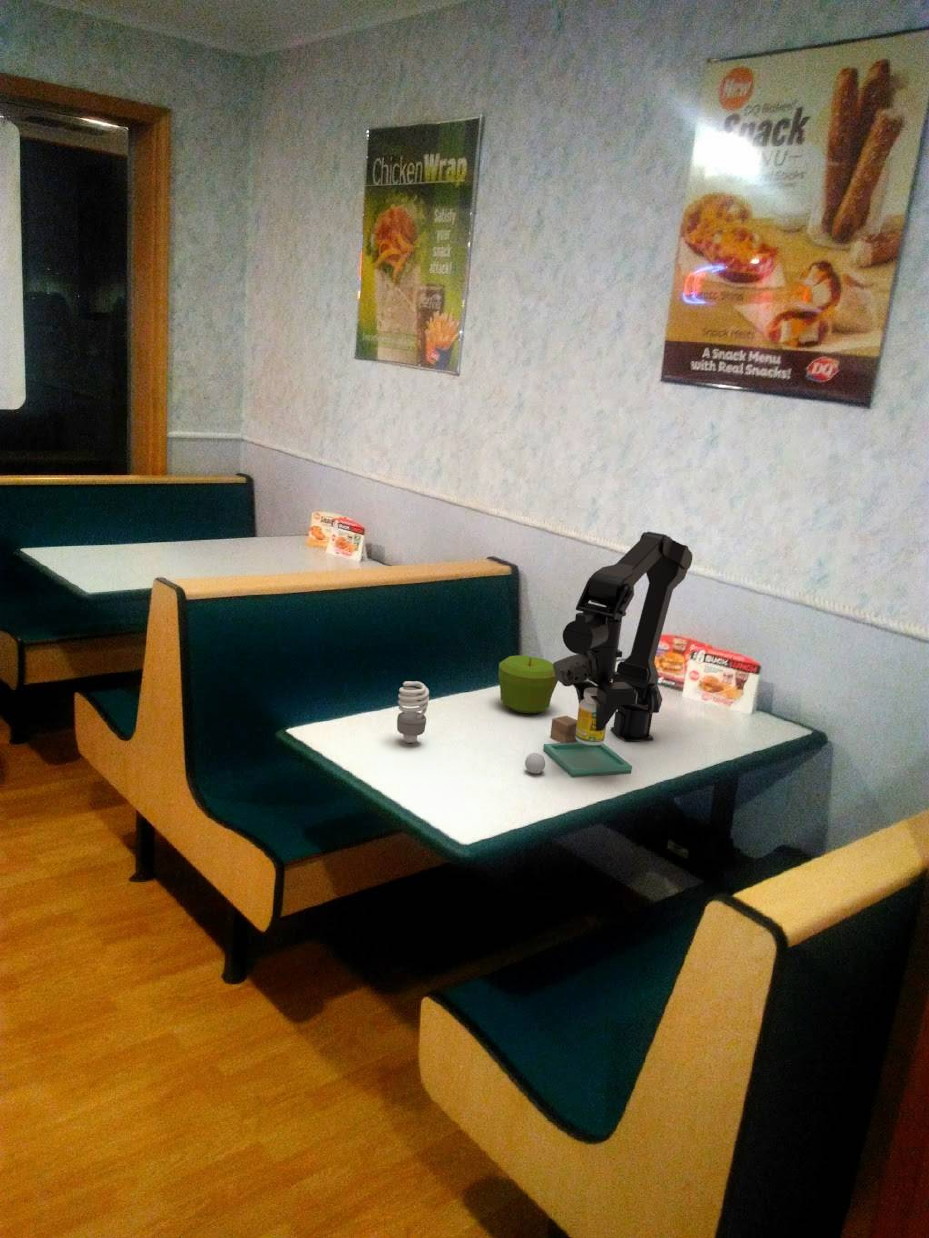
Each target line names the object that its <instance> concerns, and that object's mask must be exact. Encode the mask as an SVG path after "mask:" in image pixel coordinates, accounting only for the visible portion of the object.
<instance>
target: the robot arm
mask: <svg viewBox="0 0 929 1238" xmlns="http://www.w3.org/2000/svg"><path fill="white" fill-rule="evenodd" d="M692 562H693V553H692V551H691V550H690V549H689V546H688V545H686V544H682V543H680V542H678V541H676V540H674V539H672V538H671V536H668V535H667V534H664V533H658V532H653V531H647V532H646V531H644V532H643V533H642V534H641V535H640V538H639V540H638V541H637V542H636V543H635V544H634V545H633V546H632V547H631V548H630V549H629V551H627V552H626V553H625V554H624V555H623V556H622V557H621V558H620V559H619V560H618V561H617V562H616V563H615V564H611V565H606V566H603V567H601V568H598V570H596V571H594V573H592V575H590V577H589V578H588V580H587V582H586V584H585V586H584V589H583V590H582V593H581V596H580V597H579V599H578V602H577V603H576V607H575V611H578V613H577V612H576V614H575V617H574V620H572V621H570V622H569V623H567V625H566V626H565V627H564V629H563V631H562V641H563V643H564V646H565V647H566V648H567V649H568V651H570V652H572V653H573V655H569V656H567V657H566V656H565V658H561V659H559V660H556V661H554V662H553V663H552V664H553V668H554V673H555V677H556V680H557V681H558V682H559V683H560V684H562V686H563V687H571V686H572V687H573V688H574V689H575V692H576V695H577V700H578V701H577V702H578V704H579V703H580V701H581V700H583V699H585V698H584V690H585V689H586V688H597V696H591V698H592V699H593V700H594V701H595V703H596V730H597V731H602V730H603V729H604V727H605V726H606V727H607V725H608V724H609V722H610V720H611V719H612V718H613V716H614V720H613V726H611V727H610V731H611V732H612V733H614V734H615V735H617V736H618V737H619V738H620V739H622V740H623V741H625V742H639V741H640V742H641V741H653V740H654V736H652V735H651V734H650V733H651V726H652V719H653V714H659V713H660V709H661V707H662V703H663V696H662V693H661V691H660V688H659V686H658V683H659V678H660V676H659V672H658V669H657V666H656V663H655V660H656V656H657V652H658V648H659V645H660V640H661V637H662V633H663V630H664V625H665V623H666V622H665V621H666V617H667V614H668V611H669V606H670V603H671V599H672V595H673V592H674V590H675V589H676V587H678V586H679V584H681V583H682V582H683V581H684V580H685V578H686V576H687V573H688V570H689V569H690V568H691V566H692ZM645 574H646V577H647V580H648V587H647V589H646V594H645V599H644V602H643V606H642V609H641V613H640V617H639V621H638V624H637V629H636V633H635V636H634V640H633V643H632V648H631V651H630V654H629V655H628V657H627V658H625V660H623V661H622V660H621V661H620V662H619V663H618V664H617V659H618V658H622V657H623V651H621V650H620V649H619V645H620V639H621V638H620V637H621V630H622V622H623V617H626V616H627V612H626V611H627V609H628V607H629V606H630V603H631V601H632V600H633V599H634V596H635V585H636V584H637V582H639V580H641V578H643V576H644V575H645Z"/></svg>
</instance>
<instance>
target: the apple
mask: <svg viewBox="0 0 929 1238" xmlns="http://www.w3.org/2000/svg"><path fill="white" fill-rule="evenodd" d="M498 664H499V665H498V674H497V675H498V682H499V690H500V691H499V693H500V701H501V702H502V703H503V704H504V705H506V707H508V708H510V709H511V710H513V711H514V712H518V713H522V714H539V713H540V712H543V711H544V710H546V709H548V708H549V707H550V704H551V700H552V697H553V694H554V691H555V689H556V687H557V684H558V682H559V681H557V680H556V677H555V673H554V668H553V663H552V662H551V661H549V660H547V659H544V658H541V657H536V656H529V655H511V656H510V655H509V656H508V657H506V658H505V659H503V660H502V661H500V662H499V663H498Z"/></svg>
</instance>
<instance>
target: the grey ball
mask: <svg viewBox="0 0 929 1238" xmlns="http://www.w3.org/2000/svg"><path fill="white" fill-rule="evenodd" d="M524 760H525V761H524V767H525V769H526V770H527V772H529V773H531V774H539V773H541V772H543V771H544V770H545V767H546V760H545V758H544V755H542V754H540V753H539V752H532V753H530V754H528V755H527V756H526V757H525V759H524Z"/></svg>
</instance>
